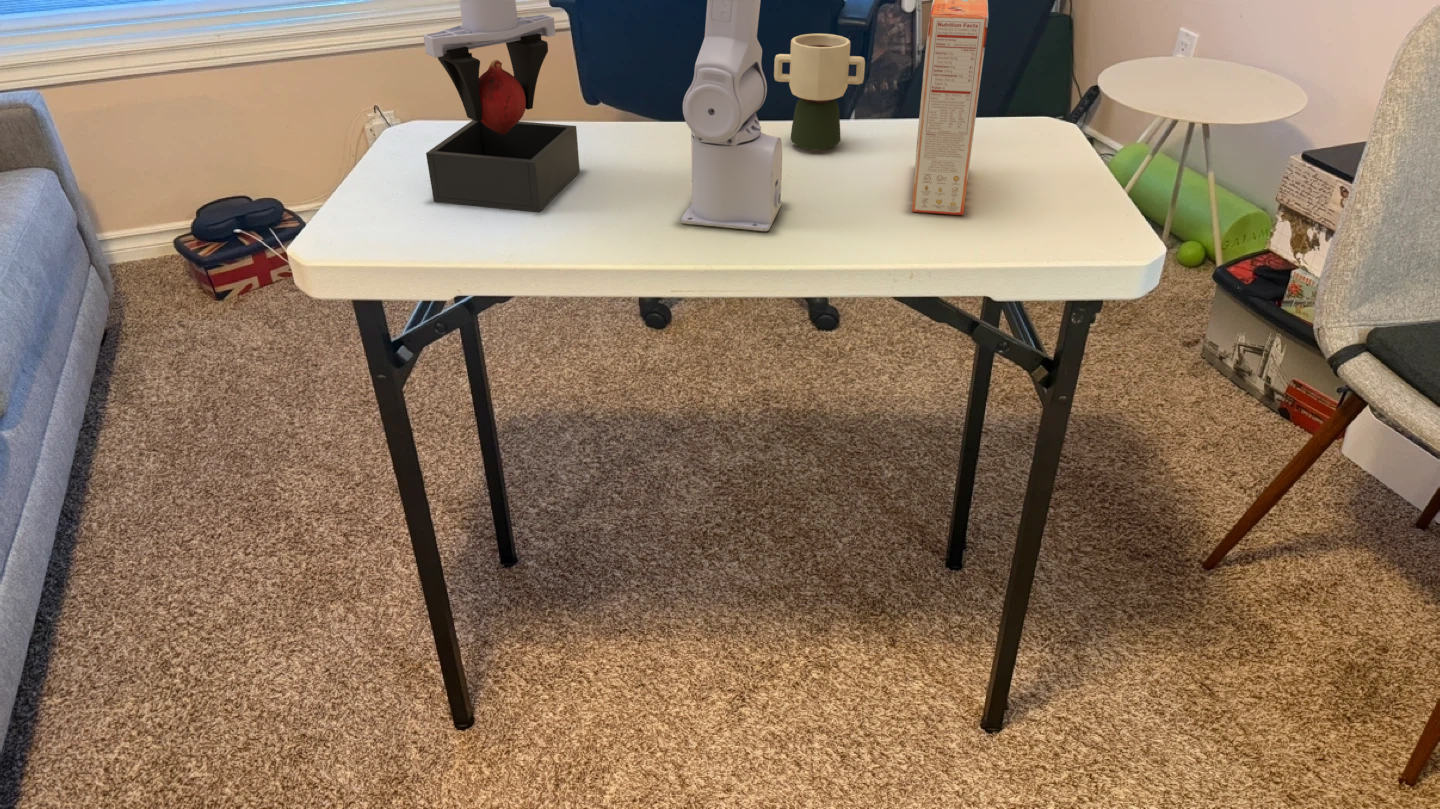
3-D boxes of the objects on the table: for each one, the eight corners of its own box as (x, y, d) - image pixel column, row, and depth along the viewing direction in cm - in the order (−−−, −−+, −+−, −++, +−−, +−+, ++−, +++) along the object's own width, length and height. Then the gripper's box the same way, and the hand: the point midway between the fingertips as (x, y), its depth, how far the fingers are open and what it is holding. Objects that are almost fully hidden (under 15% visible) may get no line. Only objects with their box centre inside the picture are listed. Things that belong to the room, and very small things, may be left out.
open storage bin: (579, 172, 120) (576, 125, 117) (539, 212, 110) (534, 162, 107) (481, 163, 123) (475, 117, 120) (433, 201, 113) (425, 152, 110)
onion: (517, 144, 110) (509, 69, 106) (467, 140, 111) (457, 66, 107) (536, 127, 115) (529, 55, 111) (488, 124, 116) (479, 52, 112)
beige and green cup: (858, 138, 131) (866, 34, 124) (858, 157, 125) (866, 49, 118) (774, 135, 132) (777, 31, 125) (769, 154, 126) (773, 46, 119)
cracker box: (913, 168, 122) (934, -17, 110) (965, 172, 121) (991, -15, 109) (907, 213, 110) (928, 11, 99) (963, 217, 109) (992, 14, 98)
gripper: (525, -33, 111) (537, 92, 118) (402, -16, 103) (423, 117, 110) (561, -24, 106) (571, 106, 114) (435, -5, 98) (454, 133, 106)
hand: (500, 112), depth 112 cm, fingers closed on onion, 6 cm apart
